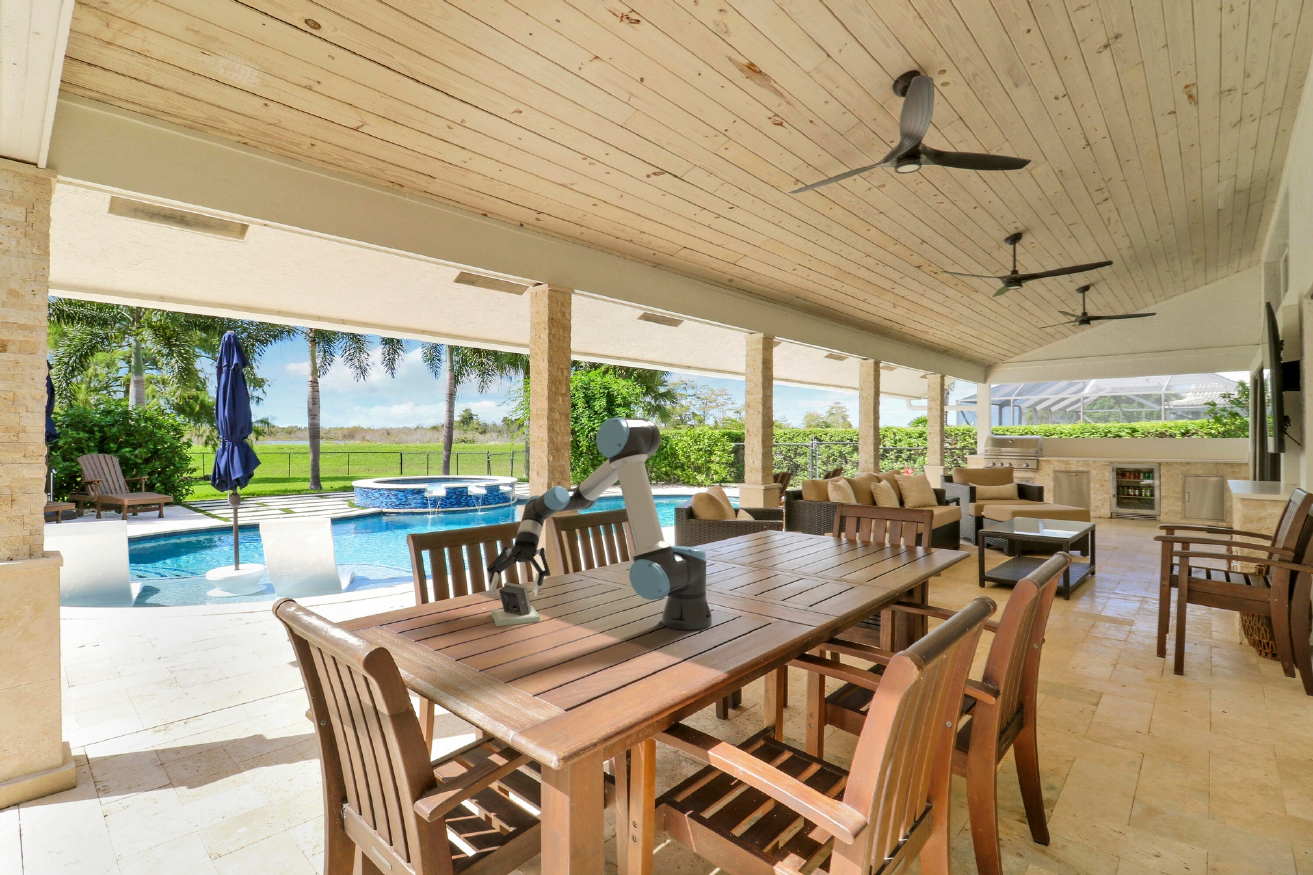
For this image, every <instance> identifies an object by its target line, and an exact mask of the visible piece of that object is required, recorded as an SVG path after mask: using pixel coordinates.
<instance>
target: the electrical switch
mask: <svg viewBox="0 0 1313 875" xmlns="http://www.w3.org/2000/svg"><path fill="white" fill-rule="evenodd" d="M498 591H499V596H500V599H501V603H502V609H504V612H507V613H511V614H516V615H520V616H522V615H523V614H525V613H529V614H530V613H531V612H532V609H531V606H532V605H531V602H530V597H529V592H528V588H527V586H526V585H522V584H518V583H512V582H508V581H506V582H505V583H503V586H502V588H500V589H499V590H498ZM513 611H514V612H513ZM515 611H517V612H515Z"/></svg>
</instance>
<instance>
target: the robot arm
mask: <svg viewBox="0 0 1313 875" xmlns="http://www.w3.org/2000/svg"><path fill="white" fill-rule="evenodd" d="M661 437H662V436H661V431H660V429H659V427H658V426H657V424H655V422H654V421H653V420H650V419H647V418H643V417H639V418H638V417H624V416H623V417H622V416H618V417H611V418H607V419H606V420H604V422H602V424H600V426H599V429H598V431H597V432H596V438H595V439H596V447H597V449H598V452H599V453H600V454H602V456H604V457H605V458H607V459H606V461H604V462H603V463H601V465H600V466H599V467H597V468H596V469H595V470H594V471H593V472H592V473H591V474H590V475H588V476H587V477H586V478H585V479H584V480H583V481H581V482H580V484H579V485H577V486H576V487H574V488H565V487H563V486H561V485H555V486H553V487H551V488H549V489H548V490H547V491H546V492H544V493H543V494H541V495H537V494H536V495H532V496H530V497H529V498H527V501H526V503H525V506H524V510H523V513H522V518H521V520H520V524H519V526H518V527H519V528H518V530H517V534H516V537H515V541H514V545H513V547H512V548H508V547H507V546H504V547H503V548H502V551H501V552H500V553H499V555H497V556H496V558H495V559H494V560H493V562H491V563H490V565H488V567H487V568H486V570H487V572H488V574H489V575H490V579H489V583H490V587H489V591H488V592H490V594H491V596H495V592H496V591H497V590H496V589H497V587H498V582H499V579H500V574H501V573H503V572H504V571H505V570H506V569H508V568H509V567H511V566H512V565H514V564H515V563H525V564H526V563H528V562H530V564H531V565H532V566H533V568H534V569H535V570H536V571H537V573H536V575H535V579H534V582H533V586H532V590H531V592H532V595H533V597H537V594H538V591H539V587H542V585H543V582H544V579H545V577H550V576H551V570H550V568H549V565H548V562H547V559H546V550H545V548H544V547H541V548H540V549H539V548H538V546H539V543H540V538H541V535H542V531H543V527H544V524H545V523H544V522H545V521H546V520H547V519H548V518H550V517H552V516H554V514H557V513H564V512H570V511H580V510H588V509H592V508H593V507H595V505H597V504H596V503H597V501H598V498H599V497H600V496H601V495H602V494H604V492H606V491H607V490H608V489H609V488H611V487H612V485H614V484H615V483H616V482H618V481H619V482H618V483H619V485H620V490H621V494H622V498H623V501H624V506H625V510H626V514H627V517H628V522H629V525H630V530H631V534H632V538H633V543H634V545H635V551H634V552H633V554H632V559H633V564H632V565H631V566H630V570H629V574H628V576H629V582H630V585H631V587H632V590H634V592H635V593H636V594H637V596H640V597H641V598H642V599H645V600H649V601H654V600H660V599H663V598H666V597H667V599H666V602H665V605H664V608H663V612H662V615H661V623H662V625H663V626H665V627H667V628H671V629H675V630H681V631H693V630H701V629H706V628H708V627H710V626H711V625H712V622H713V620H712V619H713V618H712V617H713V616H712V613H711V612H712V611H711V610H710V606H709V602H708V600H707V561H708V560H707V556H706V551H705V550H704V549H703V548H699V547H694V546H683V545H671V544H669V543H668V542H666V541H665V538H664V534H663V531H662V530H663V529H662V527H661V522H660V519H659V514H658V511H657V506H656V503H655V499H654V495H653V491H652V488H651V483H650V480H649V476H648V472H647V468H646V464H645V462H646V461H647V460H648V459H650V458H651V457H653V455H655V453H656V452H657V451H658V449H659V447H660V445H661V440H662V438H661ZM537 555H538V556H539V557H540V558H541V562H542V564H543V568H544V570H543V569H542V568H541V566H540V564H539V563H538V562H537V560H536V559H535V556H537Z"/></svg>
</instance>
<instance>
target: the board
mask: <svg viewBox="0 0 1313 875" xmlns="http://www.w3.org/2000/svg"><path fill="white" fill-rule="evenodd" d="M531 609H532V612H531V613H530V614H529V613H525V614H523V615H522V616H520V615H516V614H511V613H507V612H504V609H503V608H499V609H491V610H490V611H491V612H490V613H491V614H490V615H491V617H492V619H494V620H493V621H495V622H494V624H495V626H496V627H502V626H511V625H512V626H513V625H520V624H521V625H522V624H530V623H531V624H533V623H538V622H539V621H540V620H541V617H540V615H539V614H538V612H537V611H536V609H535V608H534V606H533V605H531ZM513 612H514V611H513ZM515 612H517V611H515ZM540 622H541V621H540ZM540 622H539V623H540Z"/></svg>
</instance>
